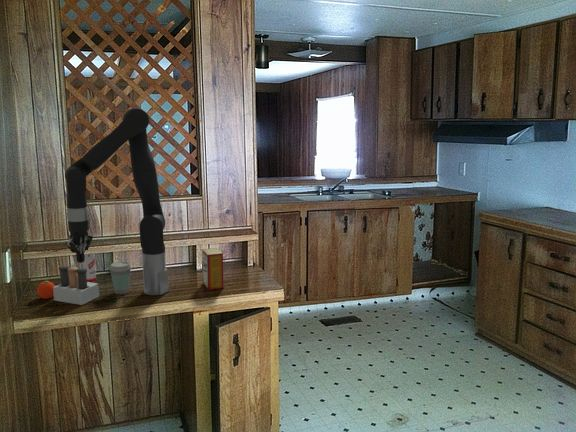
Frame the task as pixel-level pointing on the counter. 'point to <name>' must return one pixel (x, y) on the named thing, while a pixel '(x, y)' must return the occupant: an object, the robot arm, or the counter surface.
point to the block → (76, 293)
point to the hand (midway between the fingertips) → (80, 262)
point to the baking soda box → (212, 268)
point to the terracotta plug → (73, 277)
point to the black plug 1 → (64, 276)
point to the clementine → (45, 290)
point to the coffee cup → (120, 277)
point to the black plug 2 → (82, 278)
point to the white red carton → (89, 267)
